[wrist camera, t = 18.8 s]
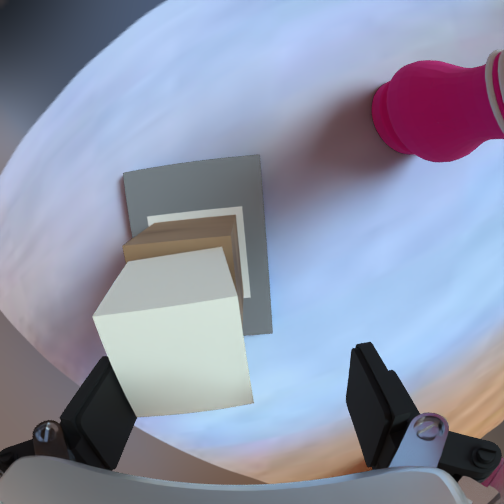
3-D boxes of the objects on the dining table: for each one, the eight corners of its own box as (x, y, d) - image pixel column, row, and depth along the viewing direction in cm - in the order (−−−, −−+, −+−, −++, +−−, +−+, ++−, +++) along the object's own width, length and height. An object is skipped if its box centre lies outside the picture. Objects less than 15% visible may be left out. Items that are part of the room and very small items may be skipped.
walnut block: (243, 292, 22) (242, 336, 17) (168, 297, 22) (145, 339, 17) (235, 214, 21) (230, 235, 15) (154, 222, 21) (122, 246, 15)
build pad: (271, 326, 24) (272, 333, 23) (159, 332, 25) (156, 339, 24) (258, 155, 20) (259, 154, 19) (128, 172, 20) (122, 172, 19)
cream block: (234, 330, 16) (253, 403, 11) (150, 342, 16) (136, 417, 10) (221, 246, 15) (237, 295, 9) (127, 261, 14) (92, 316, 9)
